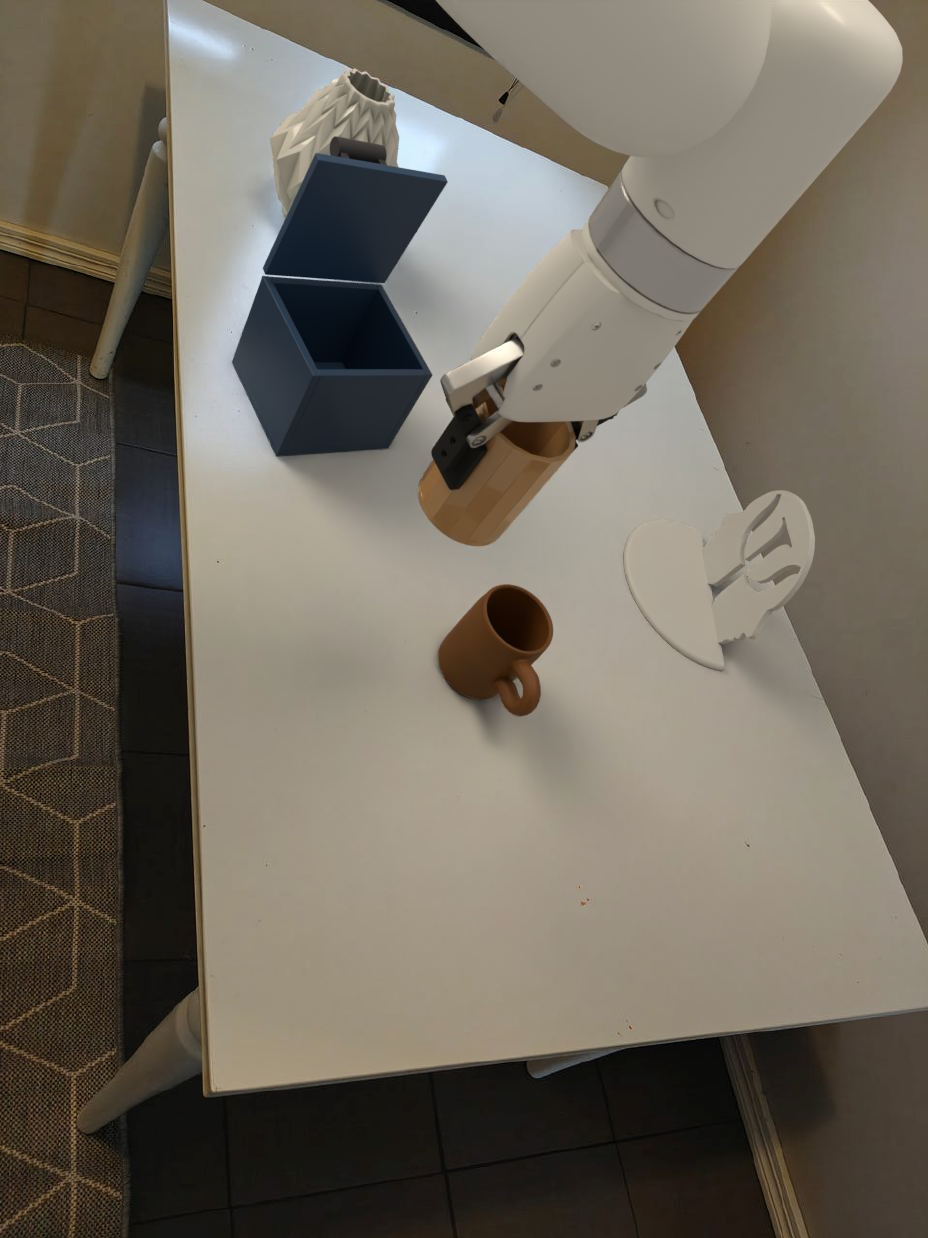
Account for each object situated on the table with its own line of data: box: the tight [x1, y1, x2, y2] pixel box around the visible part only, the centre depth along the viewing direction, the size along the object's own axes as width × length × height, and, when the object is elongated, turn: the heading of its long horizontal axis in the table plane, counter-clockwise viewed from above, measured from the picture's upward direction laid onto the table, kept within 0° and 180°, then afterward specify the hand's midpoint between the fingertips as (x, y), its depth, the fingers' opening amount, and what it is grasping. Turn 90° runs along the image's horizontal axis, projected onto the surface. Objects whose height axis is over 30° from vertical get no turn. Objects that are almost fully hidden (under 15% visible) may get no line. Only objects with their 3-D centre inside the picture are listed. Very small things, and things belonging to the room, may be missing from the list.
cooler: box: [231, 275, 433, 457], centre depth 87 cm, size 13×14×11 cm
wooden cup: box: [417, 383, 576, 547], centre depth 56 cm, size 7×7×9 cm
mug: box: [438, 583, 554, 717], centre depth 79 cm, size 12×8×9 cm, turn 14°
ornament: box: [622, 489, 816, 672], centre depth 99 cm, size 22×13×17 cm, turn 178°
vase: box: [269, 67, 400, 217], centre depth 102 cm, size 16×16×18 cm
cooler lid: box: [262, 136, 448, 284], centre depth 80 cm, size 13×14×5 cm
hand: (490, 467), depth 56 cm, fingers closed on wooden cup, 7 cm apart
